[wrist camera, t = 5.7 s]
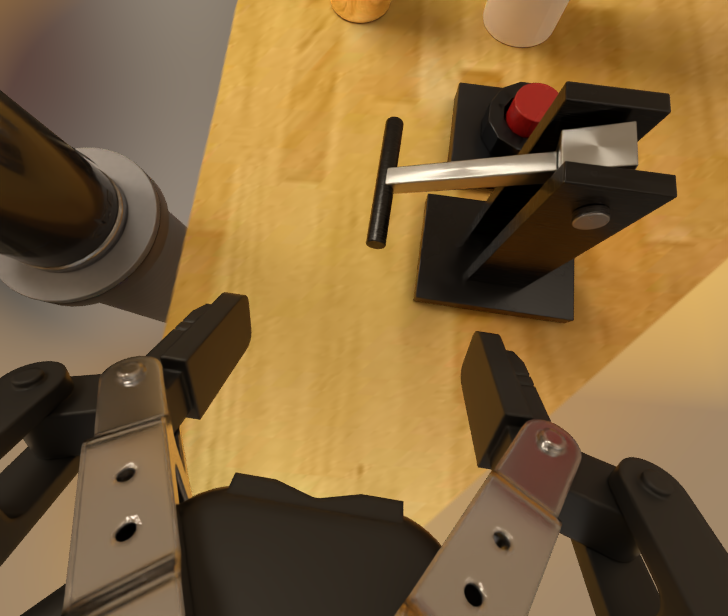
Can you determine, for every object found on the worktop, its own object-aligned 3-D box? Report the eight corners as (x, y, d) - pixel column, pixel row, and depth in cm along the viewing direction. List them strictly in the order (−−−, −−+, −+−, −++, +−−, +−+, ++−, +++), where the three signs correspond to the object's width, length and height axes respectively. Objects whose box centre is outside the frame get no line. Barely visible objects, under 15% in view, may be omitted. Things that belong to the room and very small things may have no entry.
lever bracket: (412, 301, 26) (465, 214, 13) (425, 200, 28) (481, 33, 15) (564, 323, 26) (784, 258, 12) (566, 220, 28) (757, 66, 14)
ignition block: (445, 182, 28) (456, 155, 25) (454, 98, 30) (465, 62, 27) (572, 200, 28) (601, 174, 25) (573, 113, 30) (600, 78, 27)
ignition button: (504, 136, 26) (513, 118, 24) (506, 98, 27) (516, 79, 25) (549, 142, 26) (563, 124, 24) (551, 104, 27) (563, 85, 25)
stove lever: (373, 254, 19) (359, 235, 17) (391, 139, 21) (380, 108, 19) (618, 254, 15) (641, 229, 13) (615, 109, 17) (634, 65, 14)
